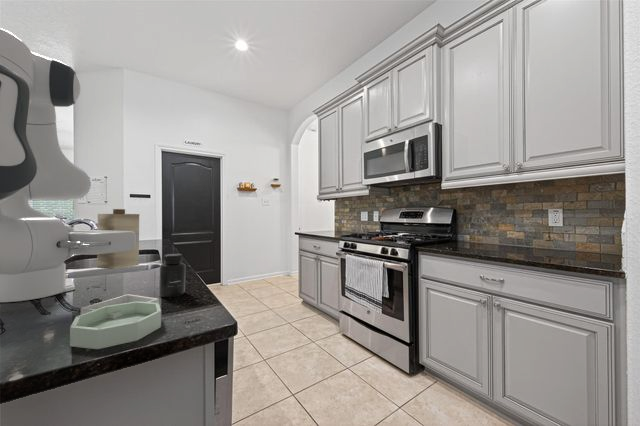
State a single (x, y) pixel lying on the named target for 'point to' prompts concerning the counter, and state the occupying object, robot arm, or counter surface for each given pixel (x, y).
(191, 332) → the counter surface
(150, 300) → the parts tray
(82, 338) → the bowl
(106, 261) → the birch canister
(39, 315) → the counter surface
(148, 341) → the counter surface
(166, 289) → the supplement bottle
